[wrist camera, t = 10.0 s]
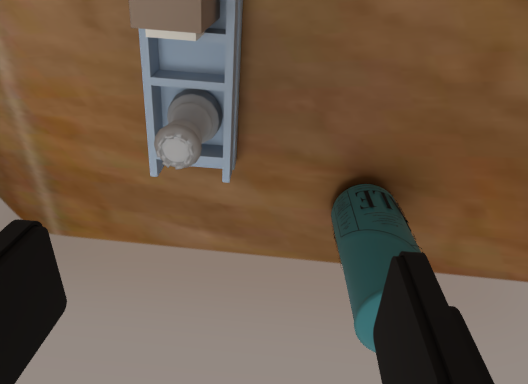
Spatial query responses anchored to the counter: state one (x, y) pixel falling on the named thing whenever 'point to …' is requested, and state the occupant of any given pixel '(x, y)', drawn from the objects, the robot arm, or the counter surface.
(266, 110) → the counter surface
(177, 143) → the rook chess piece
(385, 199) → the beverage bottle
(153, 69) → the blue-grey divided tray
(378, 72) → the counter surface
